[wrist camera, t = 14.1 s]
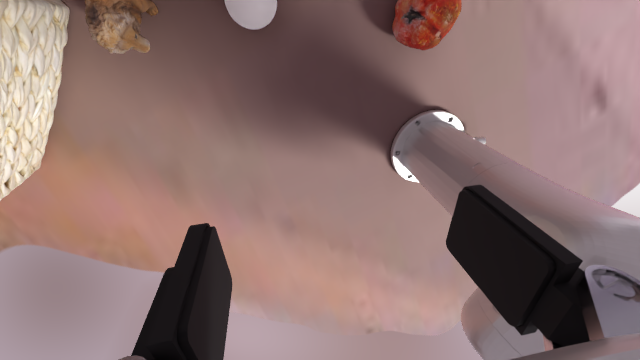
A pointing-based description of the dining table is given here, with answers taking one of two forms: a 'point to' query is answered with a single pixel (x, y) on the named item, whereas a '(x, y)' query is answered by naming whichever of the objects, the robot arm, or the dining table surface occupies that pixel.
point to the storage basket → (28, 83)
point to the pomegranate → (424, 21)
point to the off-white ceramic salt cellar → (252, 12)
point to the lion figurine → (118, 23)
